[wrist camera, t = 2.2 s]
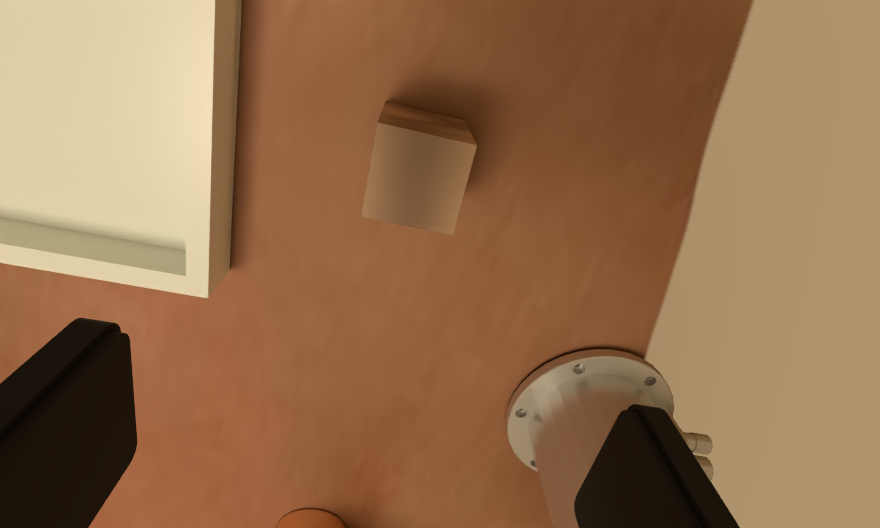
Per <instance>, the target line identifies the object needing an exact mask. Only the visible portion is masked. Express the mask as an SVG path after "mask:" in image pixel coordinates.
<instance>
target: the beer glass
mask: <svg viewBox="0 0 880 528" xmlns="http://www.w3.org/2000/svg"><path fill="white" fill-rule="evenodd" d="M277 528H345V525H344V524H343V522H342V521H341V520H340V519H339V518H338V517H336V516H335V515H333V514H331V513H329V512H326V511H323V510H318V509H302V510H297V511H294V512H291V513H289V514H287V515H286V516H284V517H283V518H282V519H281V520H280V521H279V523H278V525H277Z"/></svg>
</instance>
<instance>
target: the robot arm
mask: <svg viewBox="0 0 880 528" xmlns="http://www.w3.org/2000/svg"><path fill="white" fill-rule="evenodd" d="M673 410H674V404H673V396H672V393H671V391H670V388H669V386H668V384H667V383H666V381H665V380H664V378H663V377H662V375H661V374H660V373H659V372H658V371H657V370H656V369H655V368H654V367H653V365H652V364H650V363H648V362H647V361H645V360H644V359H642V358H641V357H638V356H635V355H633V354H630V353H627V352H623V351H617V350H612V349H593V350H586V351H579V352H575V353H572V354H568V355H565V356H562V357H559V358H557V359H555V360H553V361H551V362H549V363H546V364H545V365H543V366H542V367H540V368H539V369H537V370H536V371H534V372H533V373H532V374H531V375H530V376H529V377H528V378H526V379H525V380H524V381H523V382H522V383H521V385H520V386H519V387H518V389H517V390H516V391H515V393H514V394H513V396H512V398H511V400H510V403H509V405H508V408H507V413H506V431H507V435H508V440H509V443H510V445H511V448H512V450H513V452H514V453H515V455H516V456H517V457H518V458H519V459H520V461H521V462H523V463H524V464H525V465H526V466H528V467H529V468H530V469H532V470H534V471H537V472H538V474H539V478H540V482H541V486H542V489H543V493H544V497H545V501H546V505H547V508H548V512H549V516H550V520H551V523H552V527H553V528H740V527H739V526H738V524H737V523H736V521H735V519H734V518H733V516H732V515H731V513H730V512H729V510H728V508H727V507H726V505H725V504H724V502H723V500H722V499H721V498H720V496H719V494H718V493H717V491H716V489H715V488H714V486H713V485H712V483H711V480H712V477H713V467H712V464H711V462H710V461H709V460H708V459H707V458H706V457H702V456H696V455H693V453H692V452H695V453H702V454H709V453H710V452H711V450H712V441H711V439H710V437H709V436H707V435H703V434H697V433H684V432H683V431H682V430H681V429H680V428H679V426H678V425H677V423H676V422H675V421H674V419H673ZM136 447H137V432H136V418H135V405H134V391H133V377H132V363H131V349H130V339H129V336H128V334H126V333H121V330H120V327H119V325H118V324H116V323H111V322H105V321H98V320H92V319H86V318H78V319H76V320H74V321H72V322H71V323H70V324H69V325H68V326H66V327H65V328H64V329H63V330H62V331H61V332H60V333H58V334H57V335H56V336H55V337H54V338H53V339H51V340H50V341H49V342H48V343H47V344H46V345H45V346H43V347H42V348H41V349H40V350H39V351H38V352H36V353H35V354H34V355H33V356H32V357H31V358H30V359H28V360H27V361H26V362H25V363H24V364H23V365H22V366H20V367H19V368H18V369H17V370H16V371H15V372H13V373H12V374H11V375H10V376H9V377H8V378H7V379H5V380H4V381H3V382H2V383H1V384H0V528H88V527H89V526H90V524H91V522H92V521H93V519H94V518H95V516H96V515H97V513H98V512H99V510H100V509H101V507H102V506H103V504H104V503H105V501H106V499H107V498H108V496H109V495H110V493H111V492H112V490H113V489H114V487H115V486H116V484H117V483H118V481H119V480H120V478H121V476H122V475H123V473H124V472H125V470H126V469H127V467H128V466H129V464H130V462H131V461H132V459H133V456H134V454H135V451H136Z"/></svg>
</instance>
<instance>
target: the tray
mask: <svg viewBox="0 0 880 528" xmlns="http://www.w3.org/2000/svg"><path fill="white" fill-rule="evenodd" d="M241 9H242V0H0V263H5V264H11V265H17V266H23V267H28V268H34V269H40V270H46V271H52V272H58V273H63V274H69V275H75V276H81V277H87V278H93V279H99V280H104V281H110V282H116V283H122V284H128V285H134V286H139V287H145V288H151V289H157V290H163V291H169V292H175V293H180V294H186V295H192V296H198V297H204V298H209V296H210V295H211V294H212V292H213V291H214V290H215V288H216V287H217V286H218V284H219V283H220V282H221V280H222V279H223V278H224V276H225V275H226V274H227V272H228V271H229V270H230V250H231V228H232V206H233V184H234V162H235V140H236V119H237V97H238V75H239V53H240V31H241Z"/></svg>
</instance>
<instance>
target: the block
mask: <svg viewBox="0 0 880 528" xmlns="http://www.w3.org/2000/svg"><path fill="white" fill-rule="evenodd" d="M476 148H477V144H476V142H475V140H474V138H473V136H472V133H471V131H470V129H469V127H468V125H467V123H466V121H465V120H462V119H458V118H454V117H449V116H445V115H441V114H437V113H433V112H429V111H424V110H420V109H416V108H412V107H408V106H403V105H399V104H395V103H391V102H387V101H386V102H385V104H384V107H383V110H382V112H381V115H380V117H379V120H378V123H377V128H376V134H375V140H374V145H373V151H372V157H371V163H370V168H369V174H368V180H367V185H366V191H365V197H364V203H363V208H362V214H361V217H364V218H369V219H374V220H378V221H383V222H388V223H393V224H398V225H403V226H408V227H413V228H418V229H423V230H428V231H433V232H438V233H443V234H448V235H452V236H453V232H454V229H455V225H456V221H457V218H458V214H459V210H460V207H461V203H462V199H463V196H464V192H465V188H466V185H467V181H468V177H469V174H470V170H471V166H472V162H473V159H474V155H475V151H476Z"/></svg>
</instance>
